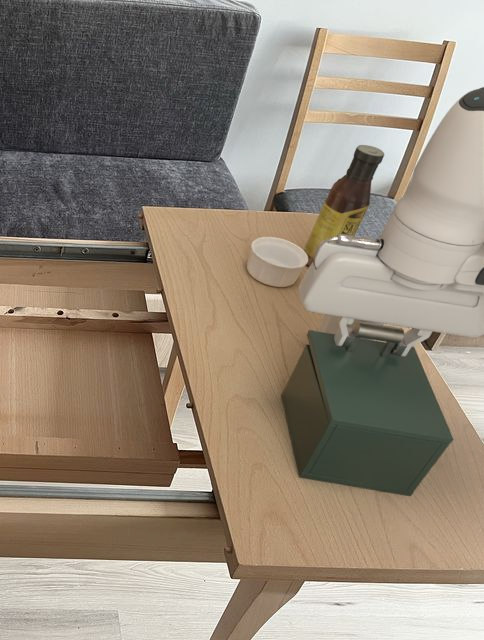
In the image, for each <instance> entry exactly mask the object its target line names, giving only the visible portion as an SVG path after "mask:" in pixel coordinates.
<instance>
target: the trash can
mask: <svg viewBox="0 0 484 640" xmlns="http://www.w3.org/2000/svg"><path fill="white" fill-rule="evenodd" d="M280 396H281V401H282V406H283V411H284V415H285V419H286V422H287V423H286V424H287V429H288V432H289V437H290V442H291V447H292V450H293V455H294V459H295V464H296V468H297V473H298V477H299V478H301V479H307V480H313V481H318V482H324V483H329V484H335V485H343V486H347V487H353V488H359V489H360V488H361V489H365V490H372V491H378V492H384V493H389V494H394V495H395V494H396V495H401V496H407V497H412V495H413V494H414V493H415V491H416V489H417V488H418V487H419V485H421V483H422V482H423V480H424V479H425V478H426V476H427V475H428V474H429V472H430V471H431V470H432V468H433V467H434V466H435V464H436V463H437V462H438V460H439V459H440V458H441V456H442V455H443V454H444V452H445V451H446V450H447V448H448V447H449V446H450V444H447V443H441V442H435V441H429V440H423V439H417V438H411V437H405V436H399V435H393V434H387V433H380V432H374V431H368V430H362V429H356V428H350V427H344V426H338V425H332V424H329V420H328V416H327V412H326V408H325V404H324V400H323V396H322V393H321V389H320V385H319V381H318V377H317V373H316V369H315V365H314V362H313V358H312V354H311V350H310V346H309V343H308V344H305V346H304V348H303V350H302V352H301V354H300V356H299V358H298V360H297V363H296V365H295V367H294V369H293V371H292V372H291V375H290V377H289V379H288V381H287V383H286V384H285V387H284V389H283V391H282V394H281V395H280Z"/></svg>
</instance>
